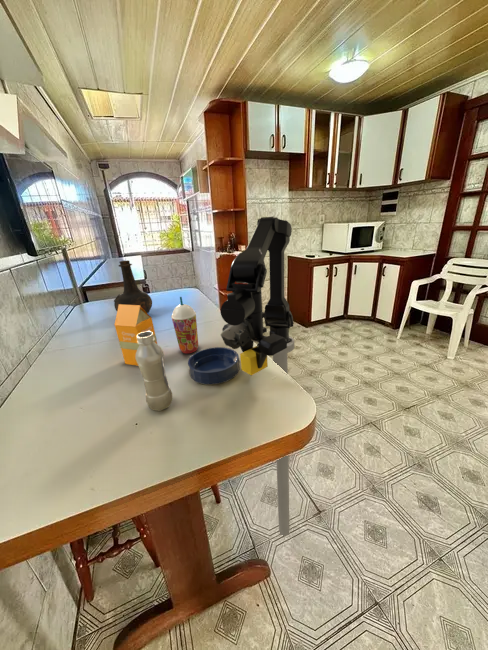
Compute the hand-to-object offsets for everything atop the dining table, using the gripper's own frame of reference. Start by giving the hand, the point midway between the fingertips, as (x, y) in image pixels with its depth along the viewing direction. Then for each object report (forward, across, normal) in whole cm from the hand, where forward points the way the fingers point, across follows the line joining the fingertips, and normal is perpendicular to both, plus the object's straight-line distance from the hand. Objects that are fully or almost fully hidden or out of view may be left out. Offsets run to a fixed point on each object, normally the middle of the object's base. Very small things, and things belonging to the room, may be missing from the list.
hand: (254, 364), depth 72 cm
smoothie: (+6, -33, -2) cm, 34 cm away
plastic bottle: (+6, -11, -23) cm, 26 cm away
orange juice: (+6, -39, -17) cm, 43 cm away
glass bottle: (+6, -89, -1) cm, 89 cm away
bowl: (+6, -14, -4) cm, 16 cm away
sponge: (+1, 0, 0) cm, 1 cm away
